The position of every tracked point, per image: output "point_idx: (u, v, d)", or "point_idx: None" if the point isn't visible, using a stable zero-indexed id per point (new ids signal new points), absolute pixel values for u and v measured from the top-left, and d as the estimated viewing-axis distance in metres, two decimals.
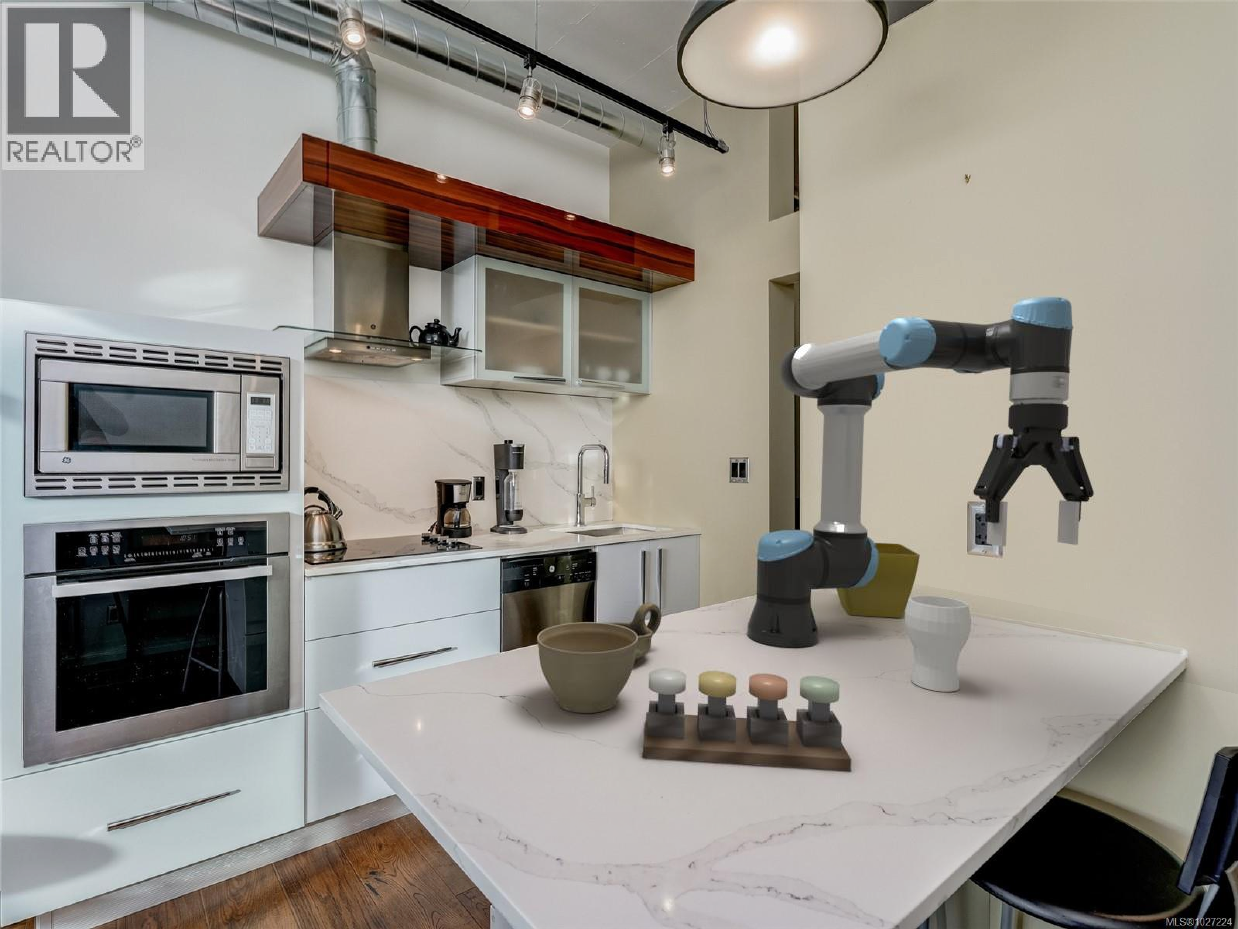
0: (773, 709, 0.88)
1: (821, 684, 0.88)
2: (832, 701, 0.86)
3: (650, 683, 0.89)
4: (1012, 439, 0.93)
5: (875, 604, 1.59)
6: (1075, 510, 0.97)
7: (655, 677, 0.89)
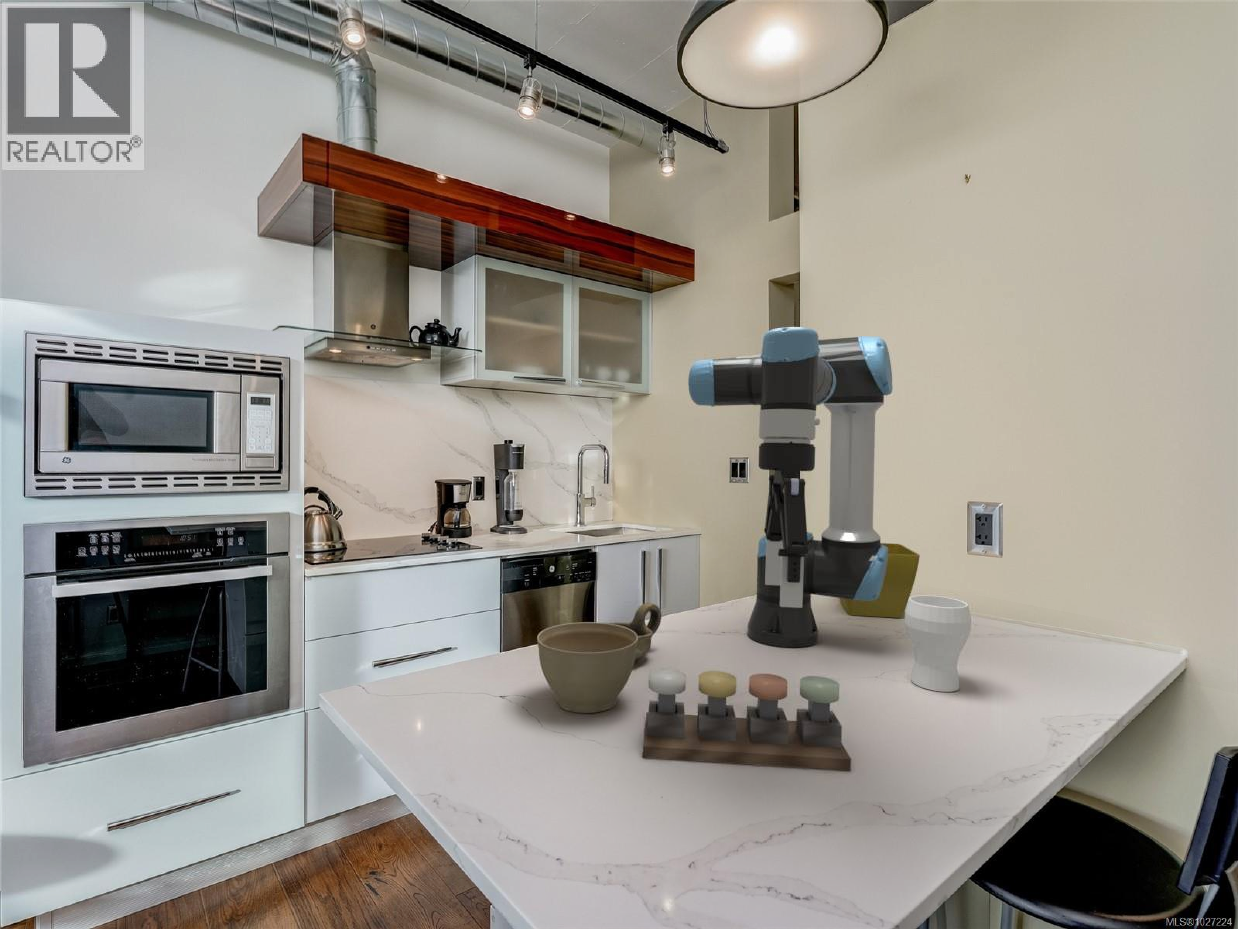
0: (773, 709, 0.88)
1: (821, 684, 0.88)
2: (832, 701, 0.86)
3: (650, 683, 0.89)
4: None
5: (875, 604, 1.59)
6: None
7: (655, 677, 0.89)
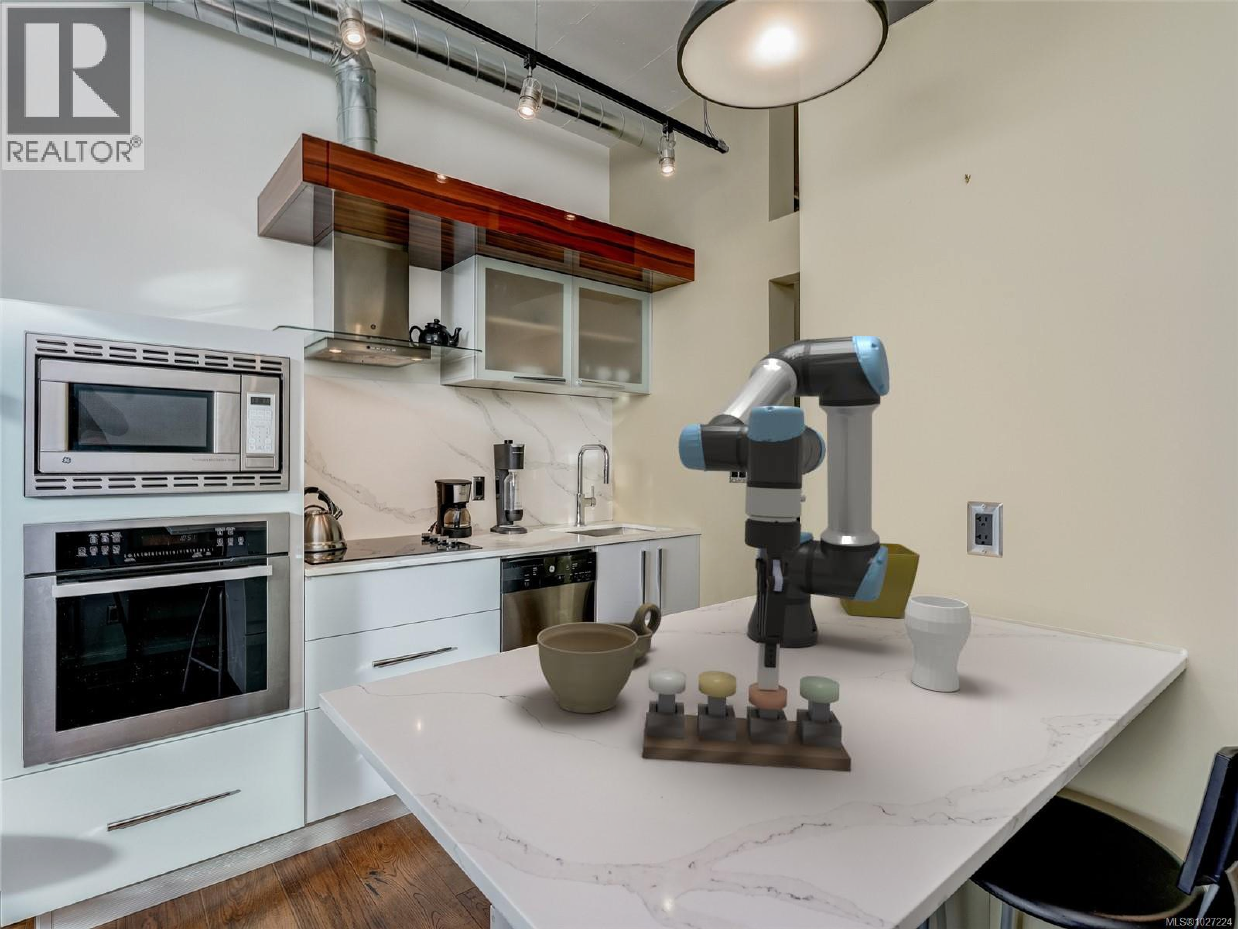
0: (773, 718, 0.88)
1: (821, 684, 0.88)
2: (832, 701, 0.86)
3: (650, 683, 0.89)
4: None
5: (875, 604, 1.59)
6: None
7: (655, 677, 0.89)
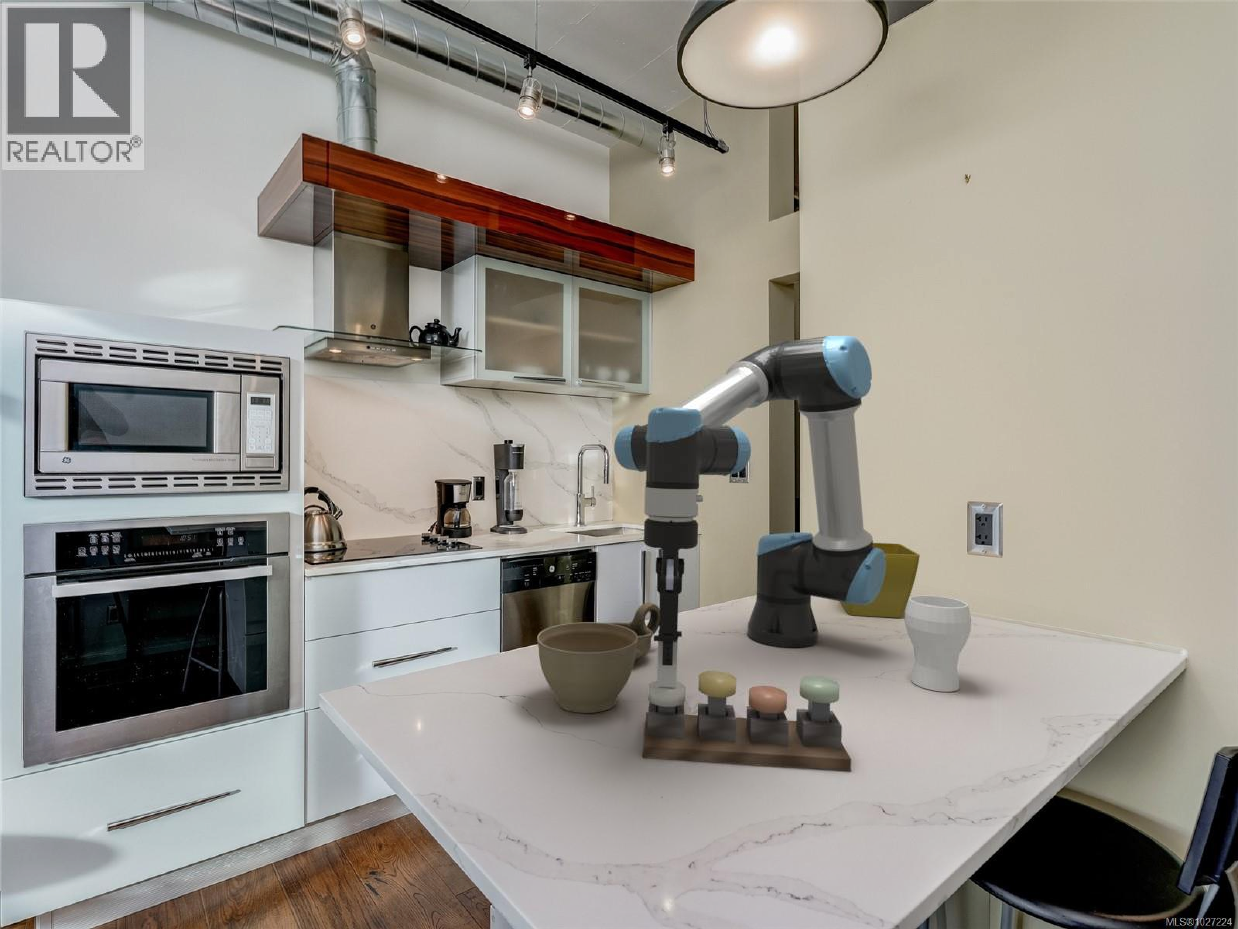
0: None
1: (821, 684, 0.88)
2: (832, 701, 0.86)
3: (650, 695, 0.89)
4: None
5: (875, 604, 1.59)
6: None
7: (655, 689, 0.89)
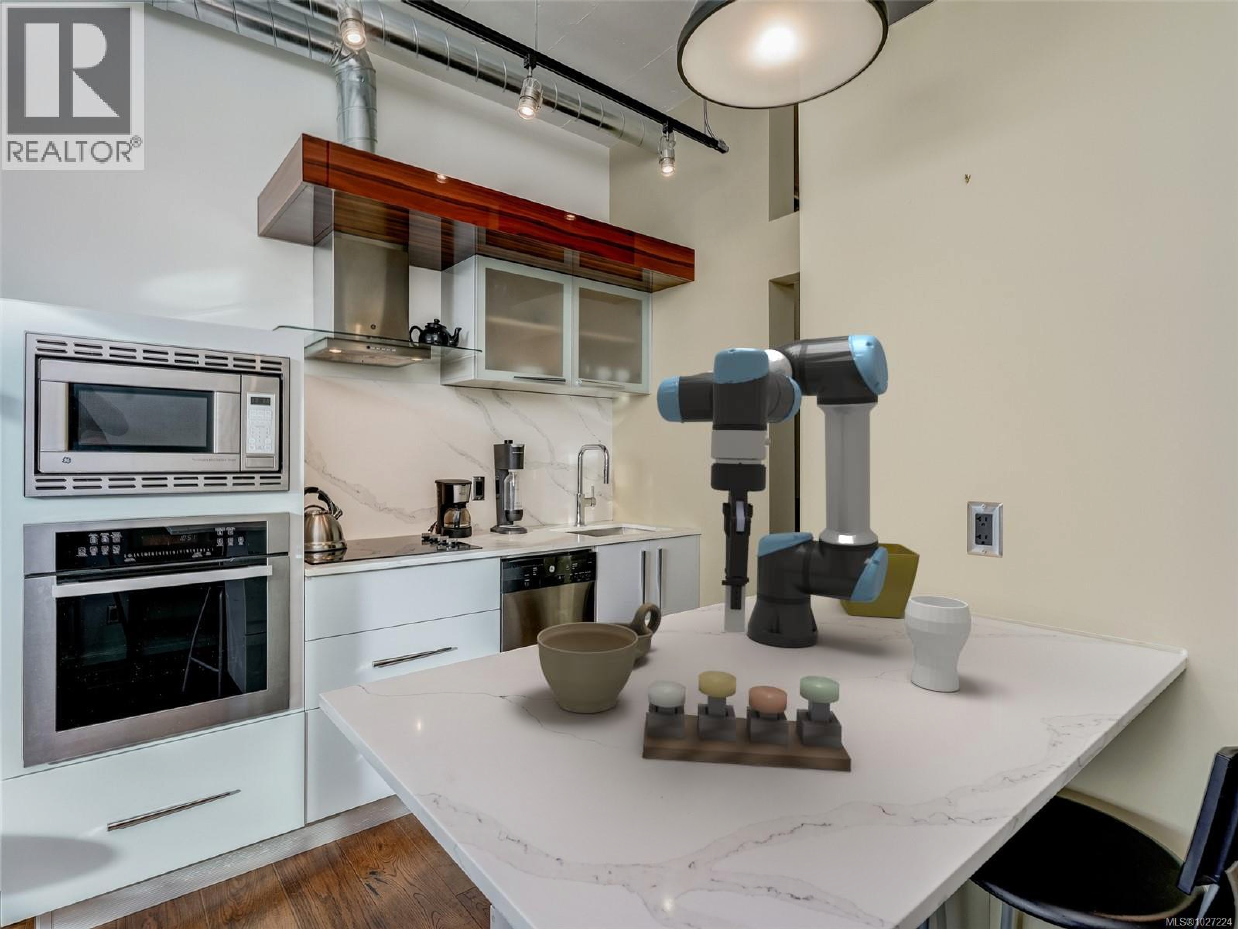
0: None
1: (821, 684, 0.88)
2: (832, 701, 0.86)
3: (650, 696, 0.89)
4: None
5: (875, 604, 1.59)
6: None
7: (655, 690, 0.89)
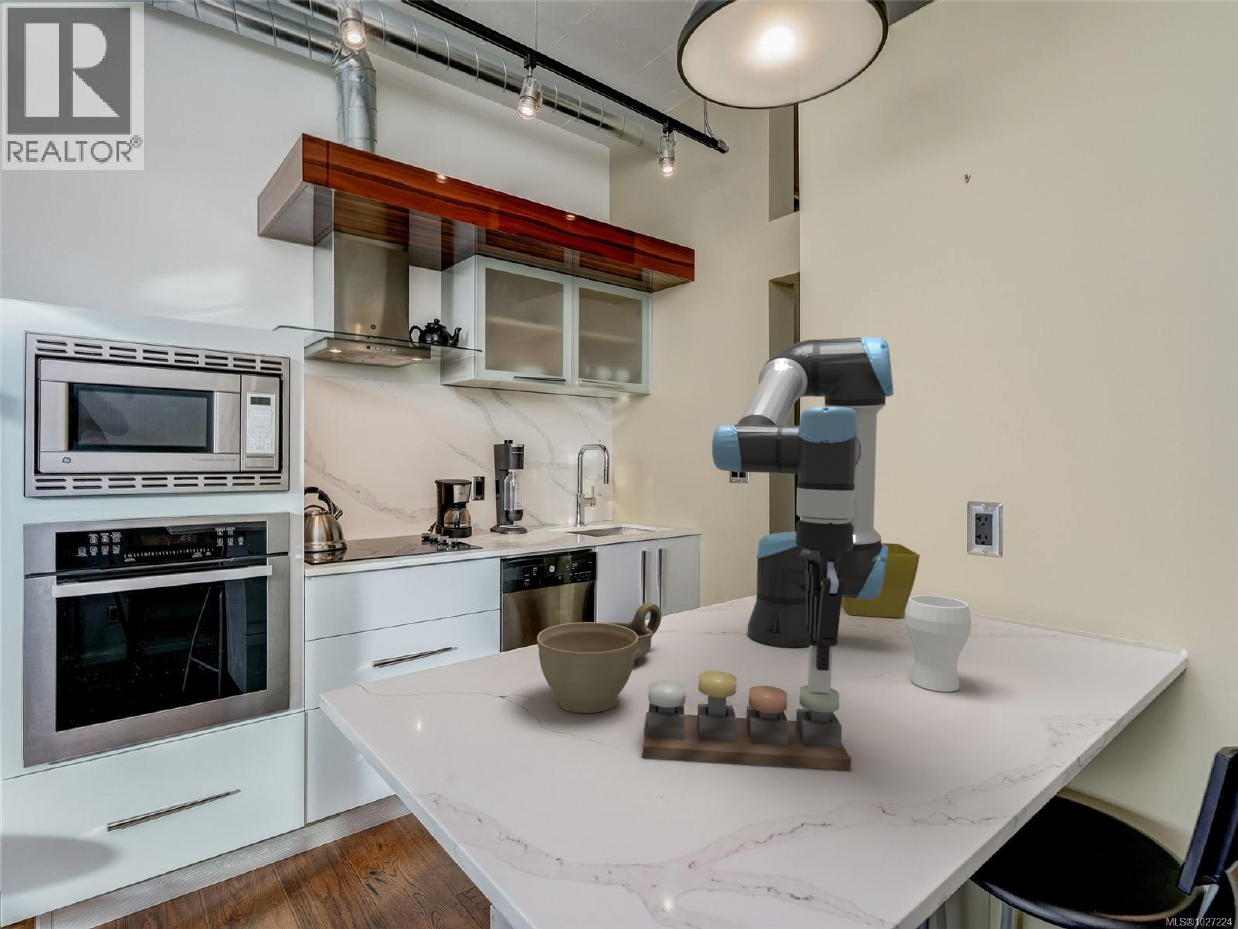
0: None
1: (820, 693, 0.88)
2: (832, 710, 0.86)
3: (650, 696, 0.89)
4: None
5: (875, 604, 1.59)
6: None
7: (655, 690, 0.89)
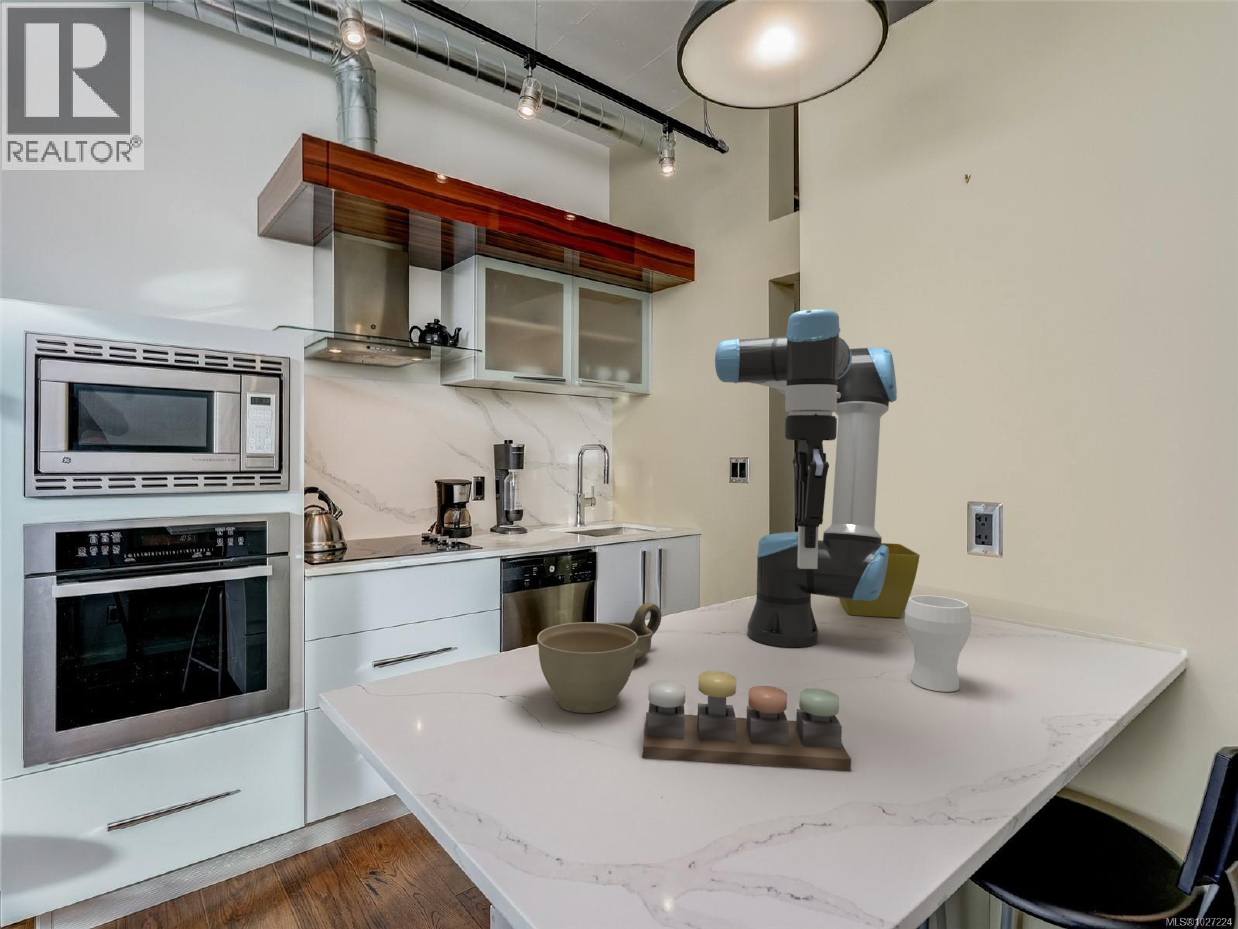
0: None
1: (820, 697, 0.88)
2: (832, 714, 0.86)
3: (650, 696, 0.89)
4: None
5: (875, 604, 1.59)
6: None
7: (655, 690, 0.89)
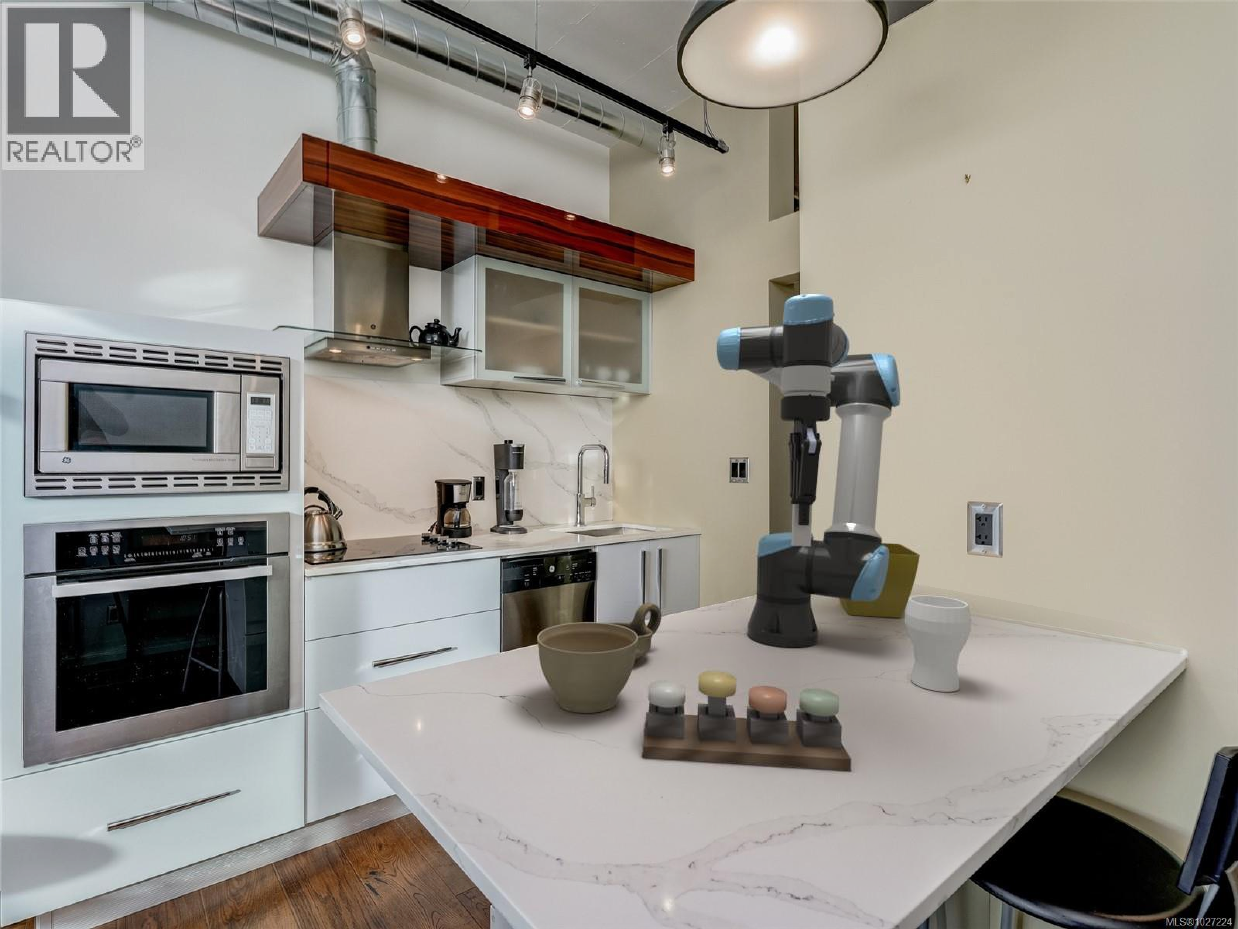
0: None
1: (820, 697, 0.88)
2: (832, 714, 0.86)
3: (650, 696, 0.89)
4: None
5: (875, 604, 1.59)
6: None
7: (655, 690, 0.89)
